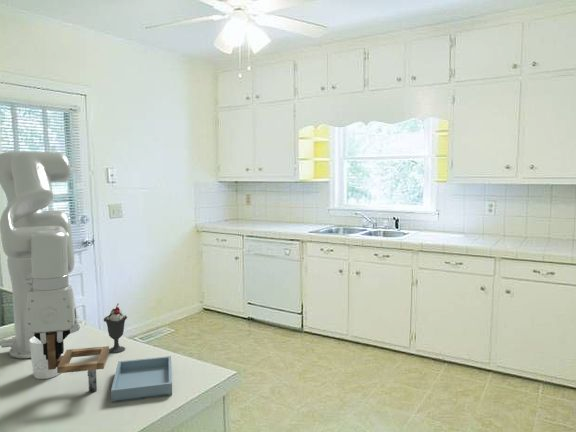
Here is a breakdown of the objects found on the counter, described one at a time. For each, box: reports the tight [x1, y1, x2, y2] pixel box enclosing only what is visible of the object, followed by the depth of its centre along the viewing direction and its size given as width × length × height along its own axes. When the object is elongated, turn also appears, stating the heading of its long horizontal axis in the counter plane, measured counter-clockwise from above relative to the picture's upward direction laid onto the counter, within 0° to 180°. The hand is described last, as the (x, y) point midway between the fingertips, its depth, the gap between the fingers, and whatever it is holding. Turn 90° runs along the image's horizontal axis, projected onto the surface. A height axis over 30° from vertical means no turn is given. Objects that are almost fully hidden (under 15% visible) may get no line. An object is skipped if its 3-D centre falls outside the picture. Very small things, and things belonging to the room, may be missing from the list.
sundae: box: [103, 303, 128, 354], centre depth 131 cm, size 7×7×15 cm
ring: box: [47, 332, 110, 374], centre depth 106 cm, size 12×10×8 cm
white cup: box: [29, 336, 64, 380], centre depth 116 cm, size 8×8×10 cm
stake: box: [87, 370, 98, 394], centre depth 107 cm, size 2×5×6 cm, turn 16°
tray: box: [110, 355, 173, 403], centre depth 111 cm, size 14×16×3 cm
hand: (53, 356), depth 105 cm, fingers closed on ring, 1 cm apart
